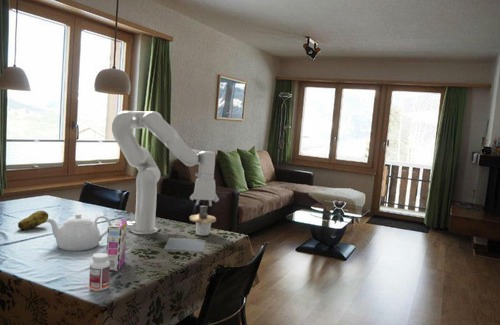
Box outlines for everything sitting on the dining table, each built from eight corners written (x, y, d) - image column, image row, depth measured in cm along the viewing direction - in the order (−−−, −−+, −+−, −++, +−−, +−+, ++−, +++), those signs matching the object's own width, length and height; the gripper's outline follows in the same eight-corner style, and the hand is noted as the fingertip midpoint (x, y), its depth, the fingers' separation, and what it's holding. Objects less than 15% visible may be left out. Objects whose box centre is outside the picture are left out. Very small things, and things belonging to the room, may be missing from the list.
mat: (163, 250, 179) (163, 249, 179) (169, 238, 196) (169, 237, 196) (203, 252, 180) (203, 251, 180) (205, 241, 197) (205, 240, 196)
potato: (16, 227, 194) (16, 210, 193) (46, 225, 202) (47, 208, 201) (18, 231, 187) (18, 214, 187) (49, 229, 195) (50, 212, 194)
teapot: (80, 255, 164) (81, 221, 163) (44, 247, 171) (45, 214, 169) (111, 243, 182) (112, 213, 180) (77, 236, 188) (78, 206, 187)
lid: (188, 222, 198) (189, 208, 197) (190, 215, 211) (191, 202, 210) (215, 224, 199) (216, 210, 198) (216, 217, 212) (217, 204, 211)
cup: (206, 239, 200) (207, 223, 199) (190, 237, 201) (191, 220, 201) (212, 233, 210) (213, 218, 210) (197, 231, 212) (198, 216, 211)
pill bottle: (106, 282, 141) (108, 251, 140) (111, 289, 136) (112, 257, 135) (87, 285, 138) (88, 253, 136) (91, 292, 132) (92, 259, 131)
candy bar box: (119, 271, 151) (121, 227, 150) (104, 271, 151) (107, 226, 149) (125, 261, 162) (127, 220, 161) (112, 260, 162) (114, 219, 160)
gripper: (187, 176, 199) (185, 213, 200) (223, 178, 200) (220, 216, 201) (189, 174, 206) (186, 210, 208) (223, 176, 207) (220, 212, 209)
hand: (203, 212), depth 205 cm, fingers open, 4 cm apart
